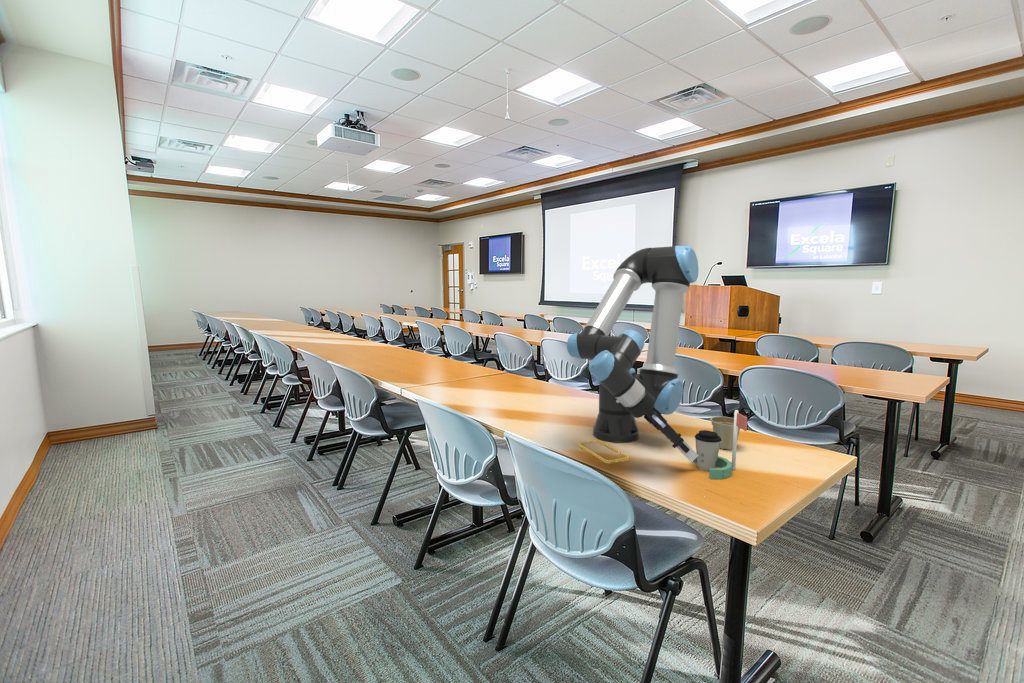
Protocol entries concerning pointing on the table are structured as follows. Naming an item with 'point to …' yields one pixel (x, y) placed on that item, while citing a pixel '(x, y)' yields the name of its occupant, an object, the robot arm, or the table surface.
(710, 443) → the coffee cup
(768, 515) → the table surface
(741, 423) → the flag
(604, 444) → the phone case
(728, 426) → the flower pot
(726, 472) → the cup ring
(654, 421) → the robot arm
